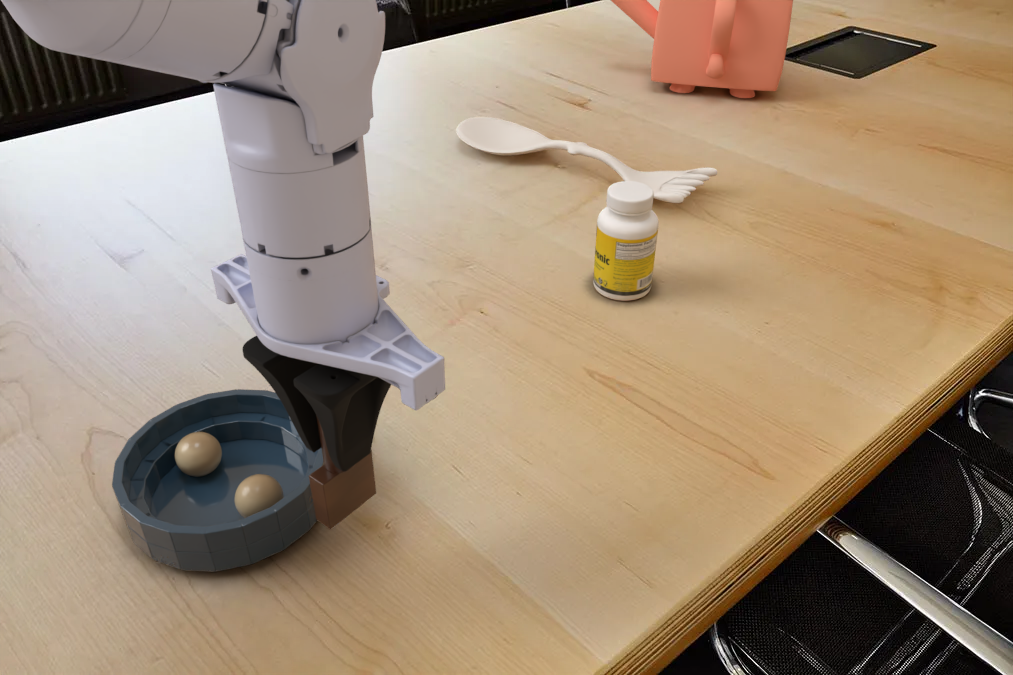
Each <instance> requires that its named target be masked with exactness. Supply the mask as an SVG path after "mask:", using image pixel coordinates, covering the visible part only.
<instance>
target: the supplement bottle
mask: <svg viewBox="0 0 1013 675" xmlns="http://www.w3.org/2000/svg"><path fill="white" fill-rule="evenodd" d="M653 196H654V192H653V190H652V188H651V187H649V186H648V185H646V184H643V183H640V182H635V181H624V180H622V181H617V182H614V183H612V184H610V185H609V186H608V187H607V190H606V200H605V202H606V206H605V207H603V209H602V210H600V212H599V214H598V216H597V219H596V230H595V231H596V233H595V234H596V235H595V247H594V248H595V249H594V262H593V273H592V274H593V278H592V280H593V281H592V283H593V287H594V289H595V290H596V291H597V292H598V293H599V294H600V295H602V296H603V297H605V298H608V299H611V300H615V301H625V302H627V301H635V300H638V299H640V298H644V297H645V296H646V295H648V293H649V292H650V290H651V288H652V283H653V276H654V267H655V259H656V250H657V242H658V234H659V217H658V215H657V214H656V213H655V211H654V210H653V205H654V198H653Z"/></svg>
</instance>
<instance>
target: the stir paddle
mask: <svg viewBox="0 0 1013 675" xmlns="http://www.w3.org/2000/svg"><path fill="white" fill-rule="evenodd" d="M316 417H317V415H316ZM317 424H318V430H319V436H320V442H321V449H322V455H323V461H324V465H323V466H321V467H320V468H318V469H317V470H316V471H314V472H313V473H311V474H310V475H309V480H310V486H311V492H312V498H313V503H314V509H315V515H316V520H317V521H318V522H319V523H320V524H322V525H323V526H324V527H326V528H327V529H329V530H332V529H334V527H336V526H337V525H339V523H341V522H342V521H344V520H345V519H346V518H347V517H348V516H351V514H352V513H354V512H355V511H356V510H357V509H359V508H360V507H361V506H362V505H364V504H365V503H366V502H368V501H369V500H370V499H372V498H373V497H374V496H376V494H377V486H376V485H377V484H376V477H375V468H374V458H373V451H372V449H371V452H370V454H369V455H367V456H366V457H365V458H363V459H362V460H361V461H359V462H358V463H356V464H355V465H354V466H352V467H351V468H350V469H348V470H347V471H341V470H340V469H338V468H337V467H335V465H334V463H333V462H332V460H331V458H330V456H329V453H328V449H327V446H326V442H325V438H324V434H323V430H322V427H321V424H320V422H319V420H318V418H317ZM317 521H316V522H317Z"/></svg>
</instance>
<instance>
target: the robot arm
mask: <svg viewBox="0 0 1013 675" xmlns="http://www.w3.org/2000/svg"><path fill="white" fill-rule="evenodd" d="M0 1H1V2H2V5H3V6H4V7H5V8H6V10H7V11H8V13H9V14H10V16H11V17H12V20H14V21H15V23H16V24H17V25H18V27H20V29H21V30H22V31H23V32H24V33H25V34H26V35H27V36H28V37H29V38H30V39H32V41H34V42H36V43H37V44H38V45H40V46H42V47H44V48H46V49H49V50H50V51H55V52H59V53H64V54H69V55H73V56H78V57H83V58H89V59H93V60H99V61H103V62H104V61H105V62H109V63H113V64H118V65H124V66H128V67H132V68H138V69H143V70H148V71H152V72H157V73H160V74H161V73H162V74H166V75H171V76H177V77H181V78H186V79H191V80H195V81H198V82H199V83H203V84H207V83H212V86H213V92H214V96H215V103H216V108H217V111H218V118H219V122H220V127H221V133H222V138H223V143H224V144H223V145H224V149H225V153H226V157H227V163H228V164H227V165H228V168H229V174H230V178H231V184H232V189H233V194H234V200H235V204H236V210H237V214H238V220H239V226H240V231H241V235H242V242H243V247H244V254H243V253H240V254H238V255H235V256H234V257H232V258H230V259H227V260H225V261H223V262H221V263H219V264H216V265H215V266H213V267H210V271H211V276H212V280H213V284H214V289H215V290H214V291H215V295H216V298H217V300H219V301H221V302H222V303H225V304H226V305H234V304H235V303H236V305H237V307H238V308H239V310H240V311H241V313H242V315H243V316H244V318H245V319H246V321H247V323H248V324H249V326H250V327H251V329H252V330H253V332H254V334H255V335H254V336H253V337H251V338H249V339H248V340H247V341H246V342H245V343H244V344H243V345H242V355H243V358H244V359H245V360H246V361H247V362H248V363H249V364H251V365H252V367H253V368H255V369H256V370H257V371H258V373H259V374H260V375H261V376H262V377H263V379H265V380H266V382H267V383H268V384H269V386H270V387H271V389H273V392H275V393H276V394H277V396H278V397H279V399H280V400H281V402H282V404H283V406H284V407H285V409H286V411H287V413H288V415H289V417H290V419H291V421H292V422H293V424H294V426H295V428H296V430H297V432H298V434H299V436H300V438H301V440H302V441H303V443H304V445H305V446H306V448H308V449H309V450H311V451H312V452H316V451H317V450H319V449H320V448H321V442H320V436H319V430H318V424H317V418H318V420H319V422H320V424H321V427H322V430H323V434H324V438H325V442H326V446H327V449H328V453H329V456H330V458H331V460H332V462H333V463H334V465H335V467H337V468H338V469H340V470H341V471H347V470H348V469H350V468H351V467H352V466H354V465H355V464H356V463H358V462H359V461H361V460H362V459H363V458H365V457H366V456H367V455H369V454H370V452H371V450H372V448H373V447H372V446H373V441H374V436H375V432H376V427H377V423H378V421H379V420H378V419H379V416H380V414H381V413H380V412H381V409H382V406H383V404H384V401H385V399H386V396H387V394H388V392H389V390H390V389H391V386H393V387H395V388H397V389H399V390H400V400H401V403H402V404H403V405H405V406H406V407H409V408H410V409H412V410H413V411H419V410H420V409H421V408H422V407H424V406H425V405H428V403H430V402H431V401H433V400H434V399H436V398H437V397H438V396H439V395H440V394H442V393H444V392H445V391H446V369H445V368H446V367H445V356H443V355H441V354H439V353H437V352H436V351H435V350H433V349H431V348H429V347H428V345H426V344H425V343H423V341H421V340H420V339H419V338H418V337H417V335H416V334H415V333H414V332H413V331H412V330H411V328H410V327H409V326H408V325H407V324H406V323H405V322H404V321H403V320H402V319H401V317H400V316H399V315H398V314H397V313H396V312H395V311H394V310H393V308H391V305H389V304H388V303H387V302H386V301H385V299H386V298H387V297H388V296H389V295H390V293H391V290H390V282H389V281H388V280H387V279H386V278H383V277H382V276H379V275H377V273H376V263H375V262H376V261H375V253H374V252H375V250H374V241H373V240H374V239H373V230H372V229H373V228H372V218H371V217H372V216H371V208H370V207H371V206H370V196H369V186H368V184H369V183H368V176H367V175H368V174H367V173H368V172H367V164H366V154H365V142H364V141H365V140H364V136H365V135H367V134H368V133H369V131H370V129H371V119H373V118H374V106H373V105H374V104H373V86H374V80H375V75H376V73H377V70H378V67H379V64H380V61H381V59H382V54H383V49H384V43H385V35H386V12H385V11H384V10H378V4H377V0H0ZM316 415H317V417H316Z"/></svg>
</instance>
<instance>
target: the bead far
mask: <svg viewBox="0 0 1013 675" xmlns="http://www.w3.org/2000/svg"><path fill="white" fill-rule="evenodd" d="M221 457H222V449H221V446H220V443H219V442H218V440H217V439H216V438H215V437H214V436H212V435H210V434H208V433H205V432H193V433H190V434H188V435H186V436H185V437H183V438H182V439H181V440H180V441H179V443H178V445H177V447H176V449H175V461H176V464H177V466H178V467H179V469H180V470H181V471H182V472H184V473H185V474H187V475H190V476H194V477H200V476H205V475H207V474H210V473H211V472H213V471H214V470H215V469H216V468H217V466H218V465H219V463H220V461H221Z"/></svg>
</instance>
